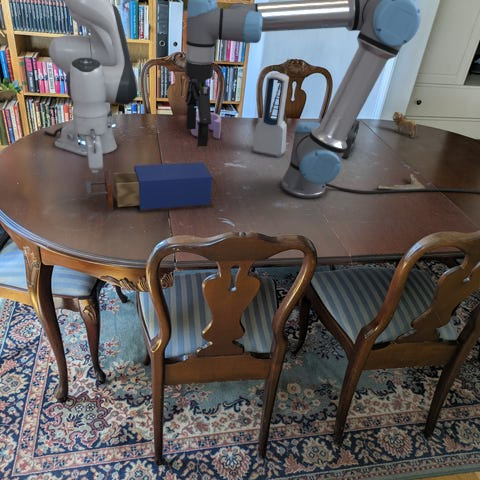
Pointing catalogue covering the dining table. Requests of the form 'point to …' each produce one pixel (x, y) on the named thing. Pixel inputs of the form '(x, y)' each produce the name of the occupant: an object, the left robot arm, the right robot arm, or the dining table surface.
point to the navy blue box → (173, 186)
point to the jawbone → (414, 185)
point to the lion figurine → (404, 123)
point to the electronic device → (272, 121)
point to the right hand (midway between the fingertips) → (196, 137)
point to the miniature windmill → (278, 68)
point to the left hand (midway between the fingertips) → (95, 170)
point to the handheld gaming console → (351, 139)
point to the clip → (210, 125)
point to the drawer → (119, 189)
